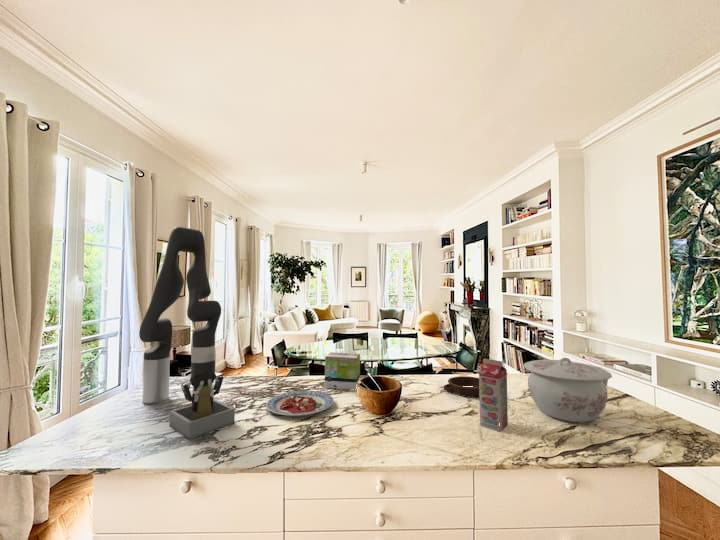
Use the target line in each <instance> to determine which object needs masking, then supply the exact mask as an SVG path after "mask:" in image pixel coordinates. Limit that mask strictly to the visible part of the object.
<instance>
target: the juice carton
mask: <svg viewBox="0 0 720 540" xmlns="http://www.w3.org/2000/svg"><path fill="white" fill-rule="evenodd" d="M507 370H508V369H506V367H504V361H501V360H497V359H489V358H484V357H483V358H482V364H481V365H480V367H479V370H478V378H479V426H480V427H483V428H486V429H490V430H493V431H496V432H497V433H498V432H499V433H500V432H502V431H503V430H504V429H505V427H506V428H507V427H508V426H509V422H508V421H509V419H508V416H509V415H508V414H509V412H508V411H509V410H508V372H507ZM499 423H500V426H499Z"/></svg>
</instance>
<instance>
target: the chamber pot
mask: <svg viewBox="0 0 720 540" xmlns="http://www.w3.org/2000/svg"><path fill="white" fill-rule="evenodd" d="M523 368H525V370H527V371H529V372H530V374H529V376H528V378H527V387H528V391H529V395H530V397H531V398H532V400H533V402H534V403H535V405H536V406H537V407H538V410H540V411H541V412H542V413H544V414H545V415H547V416H549V417H552V418H553V417H554V419H556V418H557V419H556V420H559V419H560V421H562V420H564V421H563V422H567V421H569V422H568V423H576V422H578V423H590V422H593V421H595V420H596V419H597V418H598V417H599V416H600V415H601V414H602V413H603V412H604V410H605V409H606V406H607V401H608V388H607V386H608V382H609V380H610V379H612V378H613V375H612V373H611V372H609V371H607V370H606V369H604V368H602V367H600V366H594V365H592V364H587V363H583V362H578V361H572V360H571V359H570V358H567V357H562V358H560V359H536V360H530V361H527V362H524V364H523Z"/></svg>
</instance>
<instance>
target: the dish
mask: <svg viewBox="0 0 720 540" xmlns="http://www.w3.org/2000/svg"><path fill="white" fill-rule="evenodd" d="M463 386H473V387H463ZM443 390H444V391H445V392H450V393H454V394H456V393H457V394H456V395H458V394H460V395H459V396H461V395H465V396H464V397H466V396H479V377H474V376H467V375H466V376H453V377H449V378H448V379H447V384H444V385H443Z"/></svg>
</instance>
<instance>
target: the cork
mask: <svg viewBox="0 0 720 540" xmlns="http://www.w3.org/2000/svg"><path fill="white" fill-rule="evenodd" d="M195 391H197V390H196V389H195ZM199 391H200V392H199V394H198V396H199V398H198V409H197V412H196V413H195V412H194V415H193V421H194V420H197V419H200V418H203V417H206V416H209V415H212V410H211V402H210V393H211V387H209V386H203V387H202V389H201V390H199Z"/></svg>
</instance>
